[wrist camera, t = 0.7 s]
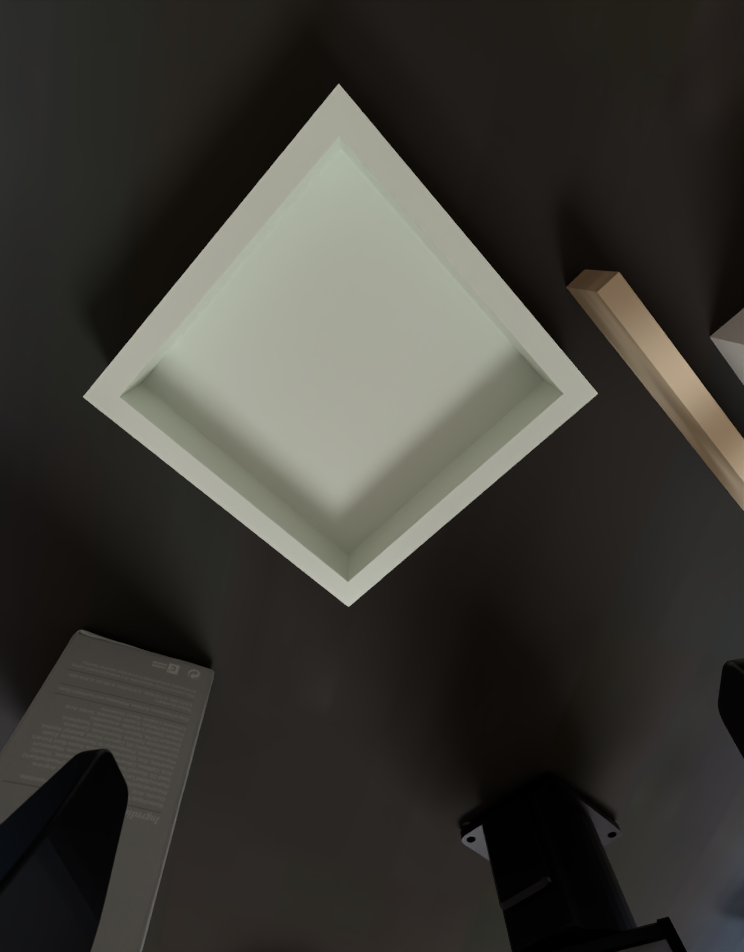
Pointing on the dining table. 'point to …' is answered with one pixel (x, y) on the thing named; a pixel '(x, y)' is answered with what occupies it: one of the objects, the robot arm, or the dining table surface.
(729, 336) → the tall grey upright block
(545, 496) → the dining table surface
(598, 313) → the frame
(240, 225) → the tray
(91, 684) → the skincare box
